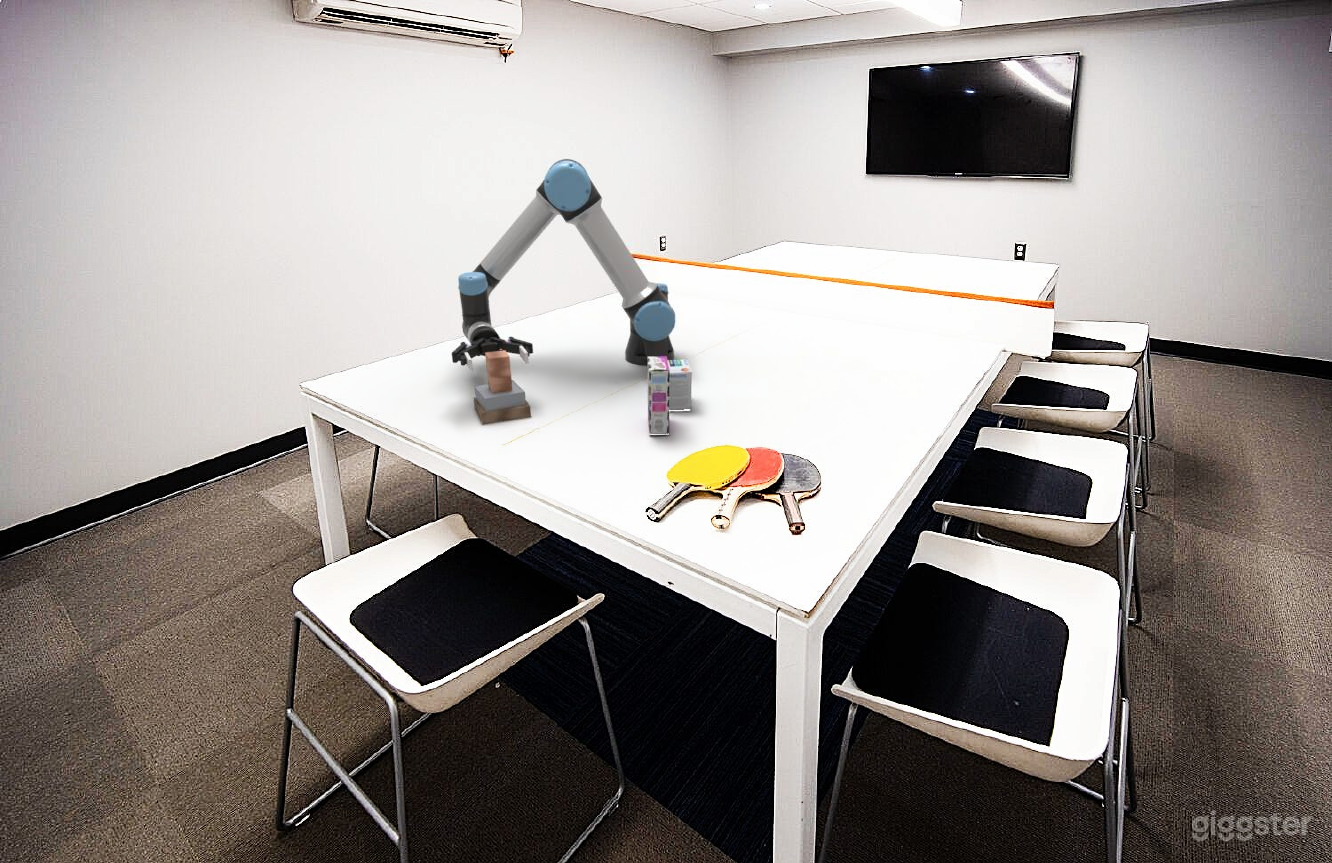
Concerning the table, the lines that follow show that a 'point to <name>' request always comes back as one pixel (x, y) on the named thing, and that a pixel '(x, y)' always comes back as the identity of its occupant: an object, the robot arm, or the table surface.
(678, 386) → the light bulb box
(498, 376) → the terracotta block
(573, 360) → the table surface
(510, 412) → the walnut slab
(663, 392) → the candy bar box
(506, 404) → the slate slab
